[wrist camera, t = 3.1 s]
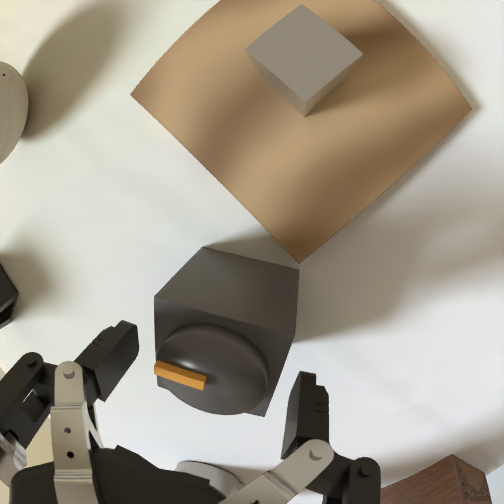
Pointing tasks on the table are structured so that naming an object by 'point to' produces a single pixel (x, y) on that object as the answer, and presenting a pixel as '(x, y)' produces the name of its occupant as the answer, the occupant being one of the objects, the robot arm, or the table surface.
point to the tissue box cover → (440, 485)
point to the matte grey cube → (303, 58)
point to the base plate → (294, 124)
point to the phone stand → (6, 298)
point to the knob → (225, 331)
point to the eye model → (11, 108)
